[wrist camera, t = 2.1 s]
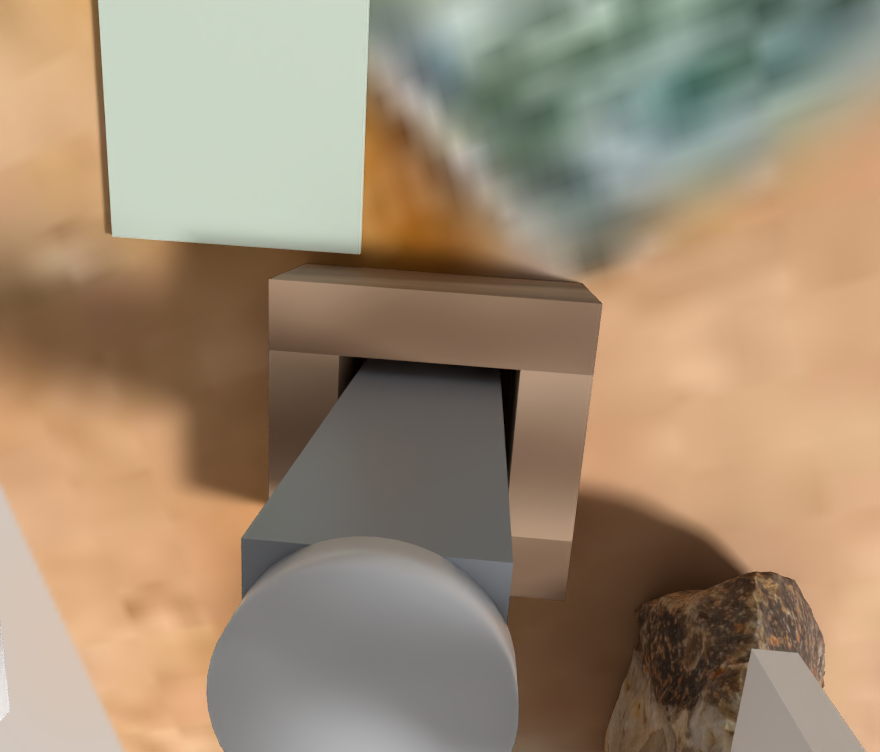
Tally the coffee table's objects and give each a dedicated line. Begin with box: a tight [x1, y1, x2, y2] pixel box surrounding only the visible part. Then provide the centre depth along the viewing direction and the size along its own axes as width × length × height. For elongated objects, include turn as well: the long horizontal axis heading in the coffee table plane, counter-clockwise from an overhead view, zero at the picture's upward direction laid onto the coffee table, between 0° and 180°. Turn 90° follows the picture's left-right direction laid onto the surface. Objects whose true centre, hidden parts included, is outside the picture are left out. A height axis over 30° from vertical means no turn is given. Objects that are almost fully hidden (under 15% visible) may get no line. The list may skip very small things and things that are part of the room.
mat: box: [98, 0, 370, 254], centre depth 24 cm, size 9×9×1 cm
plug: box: [207, 358, 519, 752], centre depth 19 cm, size 5×5×16 cm
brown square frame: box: [269, 263, 602, 601], centre depth 24 cm, size 10×10×4 cm
